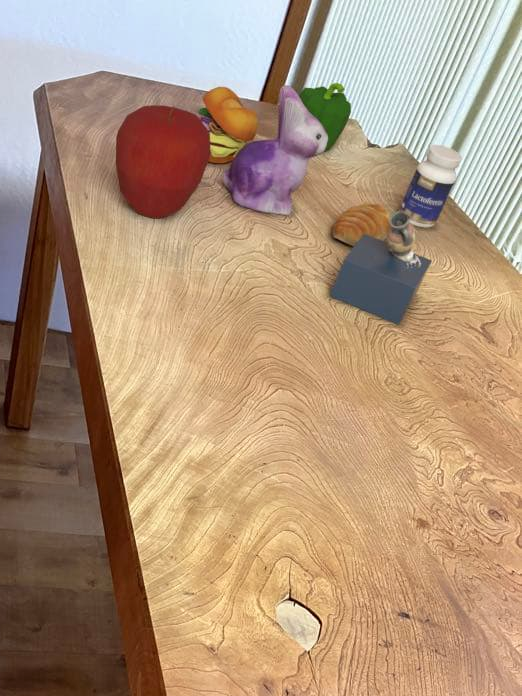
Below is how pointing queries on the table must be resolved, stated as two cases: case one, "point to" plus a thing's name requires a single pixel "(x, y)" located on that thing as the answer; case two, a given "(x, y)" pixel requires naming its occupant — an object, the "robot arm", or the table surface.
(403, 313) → the block
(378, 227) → the pastry
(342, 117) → the bell pepper
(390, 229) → the vase
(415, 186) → the pill bottle
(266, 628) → the table surface
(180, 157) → the apple
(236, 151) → the cheeseburger
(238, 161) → the figurine
